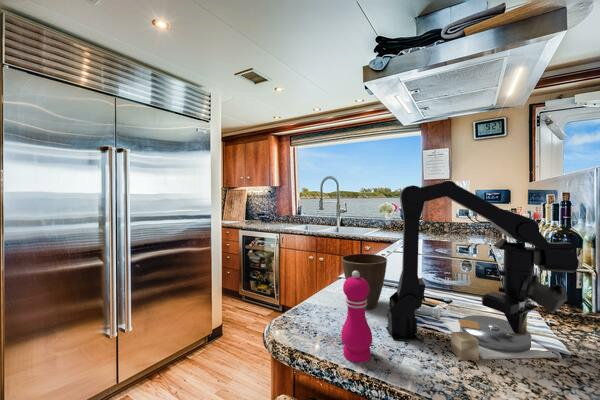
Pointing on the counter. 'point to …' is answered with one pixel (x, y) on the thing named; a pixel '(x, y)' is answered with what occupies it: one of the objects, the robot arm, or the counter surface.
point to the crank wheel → (496, 333)
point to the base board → (495, 354)
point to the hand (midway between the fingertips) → (516, 332)
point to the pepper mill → (356, 320)
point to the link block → (465, 345)
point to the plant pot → (367, 273)
